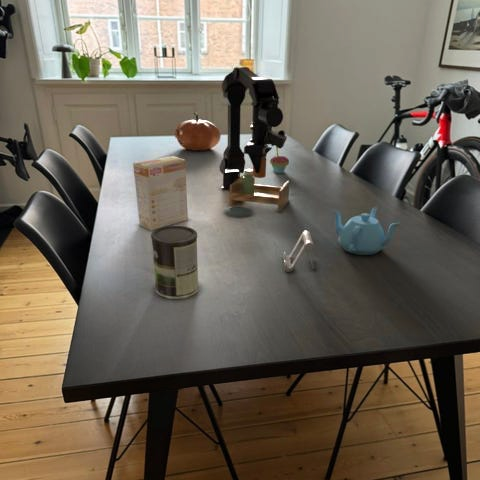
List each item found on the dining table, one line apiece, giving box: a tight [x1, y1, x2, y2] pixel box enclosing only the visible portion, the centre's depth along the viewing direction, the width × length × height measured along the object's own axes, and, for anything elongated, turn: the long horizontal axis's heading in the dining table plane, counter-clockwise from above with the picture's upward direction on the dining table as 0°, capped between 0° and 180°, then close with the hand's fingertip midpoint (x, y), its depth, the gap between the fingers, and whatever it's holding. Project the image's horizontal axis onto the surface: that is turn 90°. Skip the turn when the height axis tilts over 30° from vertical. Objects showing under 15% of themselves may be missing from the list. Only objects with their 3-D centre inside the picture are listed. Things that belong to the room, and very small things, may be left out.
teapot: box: [331, 206, 402, 256], centre depth 132 cm, size 15×15×10 cm
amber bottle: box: [252, 156, 267, 179], centre depth 156 cm, size 4×4×8 cm
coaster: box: [225, 206, 253, 218], centre depth 159 cm, size 9×9×1 cm
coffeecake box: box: [132, 155, 189, 231], centre depth 144 cm, size 15×7×20 cm, turn 134°
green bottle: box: [242, 168, 256, 194], centre depth 166 cm, size 4×4×8 cm
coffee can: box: [150, 225, 199, 300], centre depth 106 cm, size 10×10×14 cm
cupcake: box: [269, 146, 290, 174], centre depth 206 cm, size 9×8×12 cm
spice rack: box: [229, 175, 291, 213], centre depth 167 cm, size 19×14×8 cm
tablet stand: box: [282, 230, 315, 273], centre depth 121 cm, size 9×8×8 cm
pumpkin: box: [174, 111, 222, 152], centre depth 245 cm, size 25×25×19 cm
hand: (259, 171), depth 157 cm, fingers closed on amber bottle, 4 cm apart
